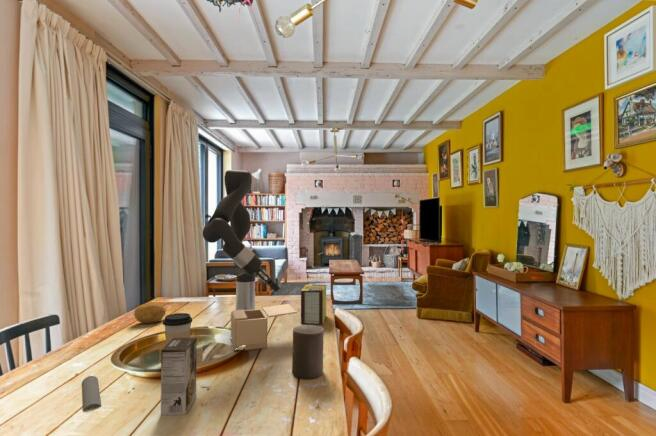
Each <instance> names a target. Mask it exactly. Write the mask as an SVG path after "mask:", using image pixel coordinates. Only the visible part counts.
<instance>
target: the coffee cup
mask: <svg viewBox="0 0 656 436" xmlns="http://www.w3.org/2000/svg"><path fill="white" fill-rule="evenodd" d="M192 322H193V317H191V314H190V313H188V312H187V313H186V312H177V313H170V314H168V315H165V316H164V318H163V319H162V325H163V326H164V336H165V346H166V345H167V344H168V343H169V342H170V341H171V340H172V339H173V338H191V326H192V325H191V324H192Z"/></svg>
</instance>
